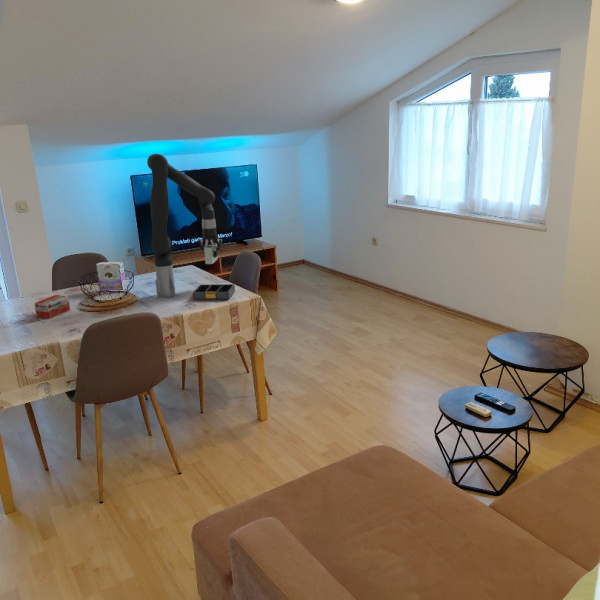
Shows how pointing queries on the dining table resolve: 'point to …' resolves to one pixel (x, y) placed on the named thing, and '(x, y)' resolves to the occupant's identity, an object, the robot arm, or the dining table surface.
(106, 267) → the candy box
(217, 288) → the rack
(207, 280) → the dining table surface
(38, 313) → the medicine box
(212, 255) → the grey-green rectangular block
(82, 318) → the dining table surface
